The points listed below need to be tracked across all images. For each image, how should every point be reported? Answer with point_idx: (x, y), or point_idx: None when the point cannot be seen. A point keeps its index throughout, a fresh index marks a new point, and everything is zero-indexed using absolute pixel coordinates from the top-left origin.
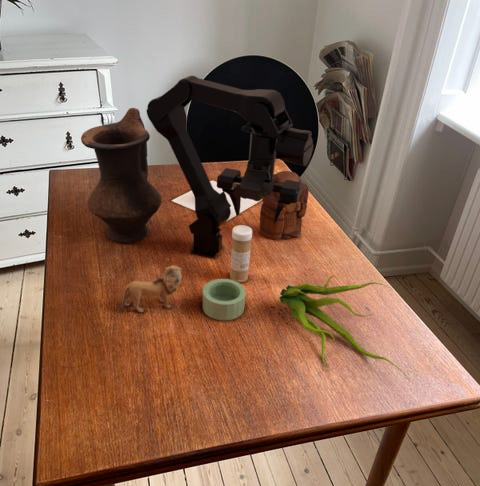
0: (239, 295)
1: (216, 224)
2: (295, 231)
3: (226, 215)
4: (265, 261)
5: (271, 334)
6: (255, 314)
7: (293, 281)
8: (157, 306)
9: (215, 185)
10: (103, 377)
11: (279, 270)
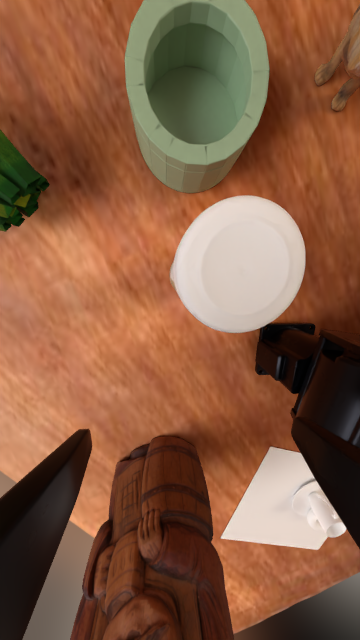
0: (143, 69)
1: (344, 356)
2: (120, 473)
3: (320, 424)
4: (154, 358)
5: (30, 45)
6: (104, 132)
7: (70, 311)
8: (344, 69)
9: (309, 539)
10: None
11: (114, 339)
